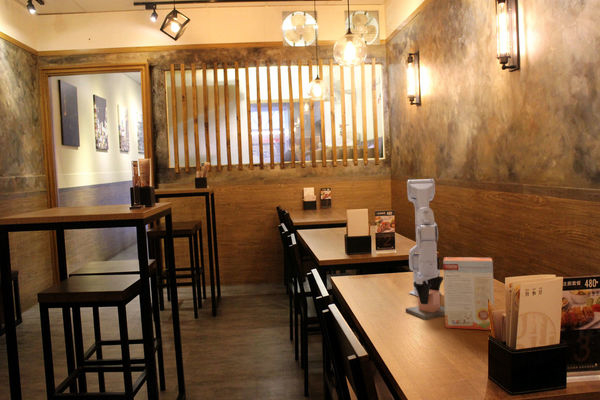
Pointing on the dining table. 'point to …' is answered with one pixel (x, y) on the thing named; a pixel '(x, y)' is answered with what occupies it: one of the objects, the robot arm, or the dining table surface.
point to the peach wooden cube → (431, 302)
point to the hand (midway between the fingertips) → (429, 300)
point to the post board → (426, 312)
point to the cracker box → (468, 292)
